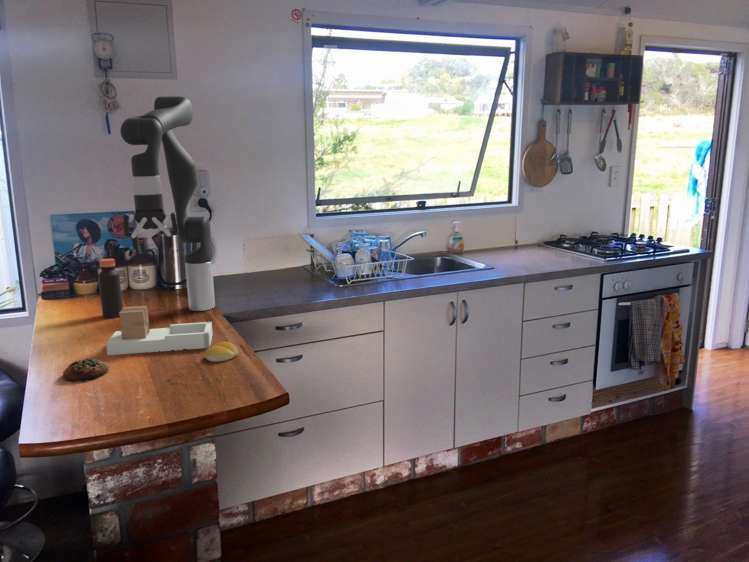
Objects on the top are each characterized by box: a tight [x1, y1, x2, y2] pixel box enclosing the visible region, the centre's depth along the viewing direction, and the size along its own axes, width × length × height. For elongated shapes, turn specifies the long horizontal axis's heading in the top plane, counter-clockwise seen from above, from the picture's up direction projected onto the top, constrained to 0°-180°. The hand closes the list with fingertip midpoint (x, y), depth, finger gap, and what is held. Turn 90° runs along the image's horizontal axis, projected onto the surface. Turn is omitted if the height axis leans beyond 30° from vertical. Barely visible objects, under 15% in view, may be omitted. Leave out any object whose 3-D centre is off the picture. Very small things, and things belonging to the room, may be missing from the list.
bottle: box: [97, 258, 124, 319], centre depth 214 cm, size 7×7×20 cm
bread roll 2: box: [203, 341, 239, 363], centre depth 172 cm, size 8×9×4 cm
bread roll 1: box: [61, 358, 110, 382], centre depth 161 cm, size 11×11×5 cm
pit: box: [165, 321, 214, 352], centre depth 184 cm, size 12×12×4 cm
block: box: [119, 305, 150, 340], centre depth 181 cm, size 6×6×8 cm
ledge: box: [105, 327, 171, 356], centre depth 182 cm, size 12×16×4 cm
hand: (153, 250), depth 175 cm, fingers open, 8 cm apart
